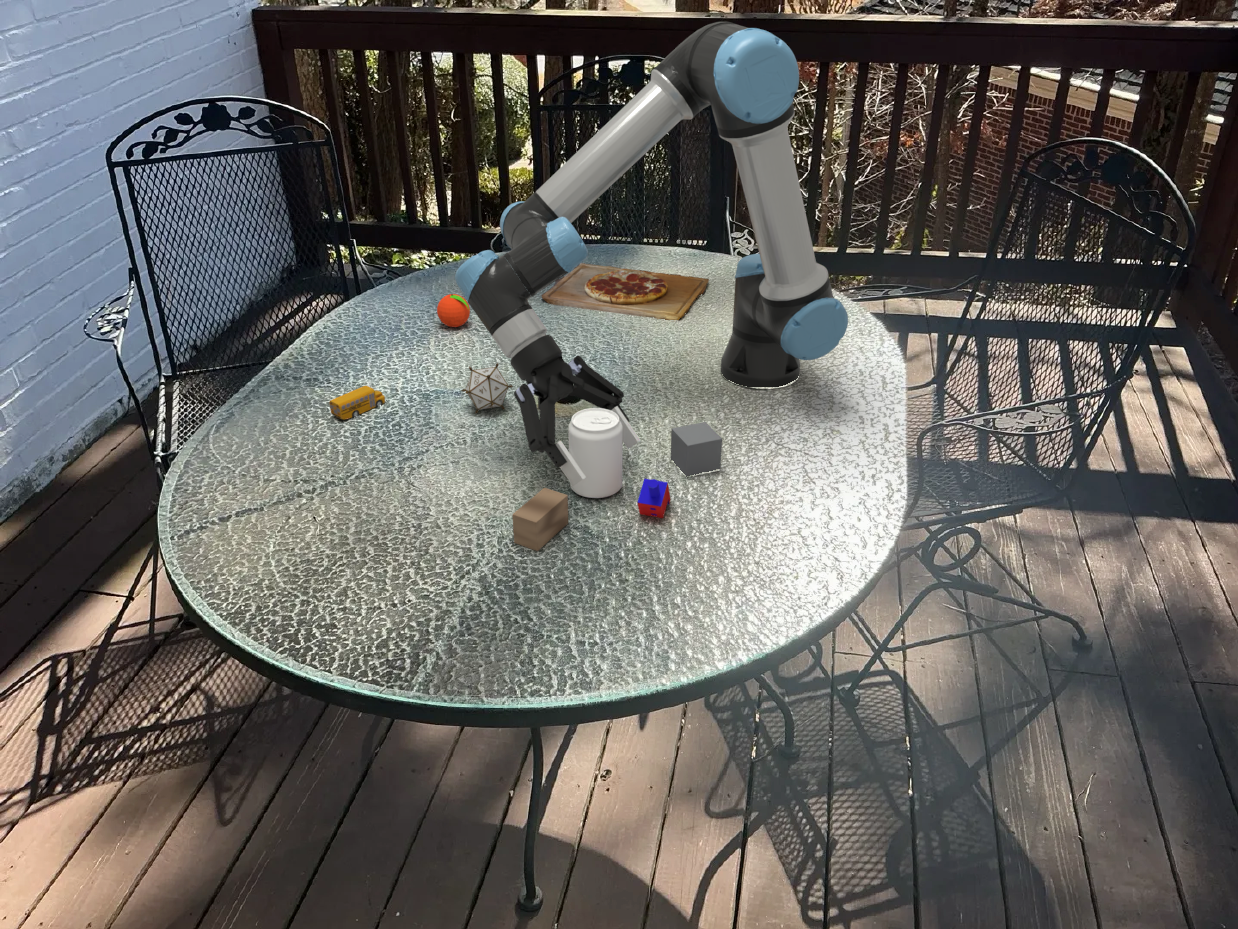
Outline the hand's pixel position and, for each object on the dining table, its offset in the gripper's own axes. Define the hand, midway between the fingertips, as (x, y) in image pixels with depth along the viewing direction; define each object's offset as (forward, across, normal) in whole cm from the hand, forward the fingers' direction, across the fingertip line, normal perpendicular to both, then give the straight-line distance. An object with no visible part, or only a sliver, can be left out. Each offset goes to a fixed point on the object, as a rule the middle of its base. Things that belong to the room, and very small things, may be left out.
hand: (608, 463), depth 142 cm
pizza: (-30, -70, -39) cm, 86 cm away
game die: (-20, -9, -28) cm, 36 cm away
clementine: (-43, -32, -50) cm, 73 cm away
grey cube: (+8, -15, +1) cm, 17 cm away
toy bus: (-33, +6, -41) cm, 52 cm away
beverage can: (+2, 0, -6) cm, 6 cm away
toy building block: (+10, 0, +2) cm, 10 cm away
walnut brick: (+3, +14, -4) cm, 15 cm away
